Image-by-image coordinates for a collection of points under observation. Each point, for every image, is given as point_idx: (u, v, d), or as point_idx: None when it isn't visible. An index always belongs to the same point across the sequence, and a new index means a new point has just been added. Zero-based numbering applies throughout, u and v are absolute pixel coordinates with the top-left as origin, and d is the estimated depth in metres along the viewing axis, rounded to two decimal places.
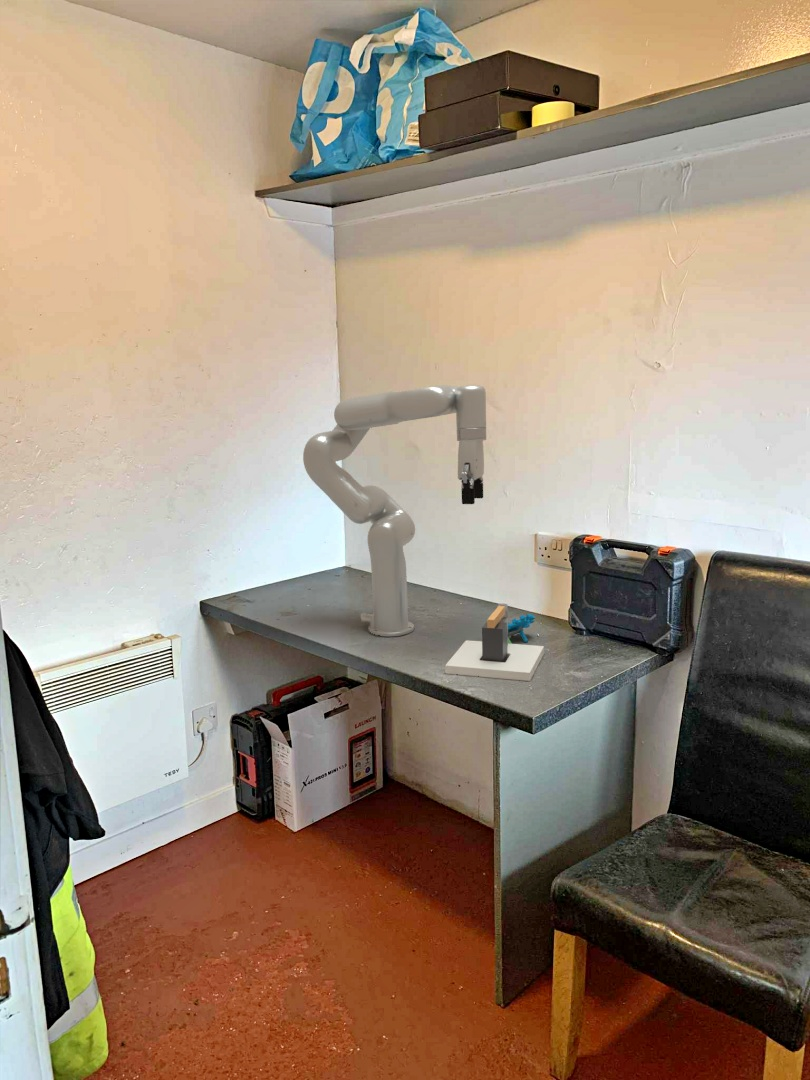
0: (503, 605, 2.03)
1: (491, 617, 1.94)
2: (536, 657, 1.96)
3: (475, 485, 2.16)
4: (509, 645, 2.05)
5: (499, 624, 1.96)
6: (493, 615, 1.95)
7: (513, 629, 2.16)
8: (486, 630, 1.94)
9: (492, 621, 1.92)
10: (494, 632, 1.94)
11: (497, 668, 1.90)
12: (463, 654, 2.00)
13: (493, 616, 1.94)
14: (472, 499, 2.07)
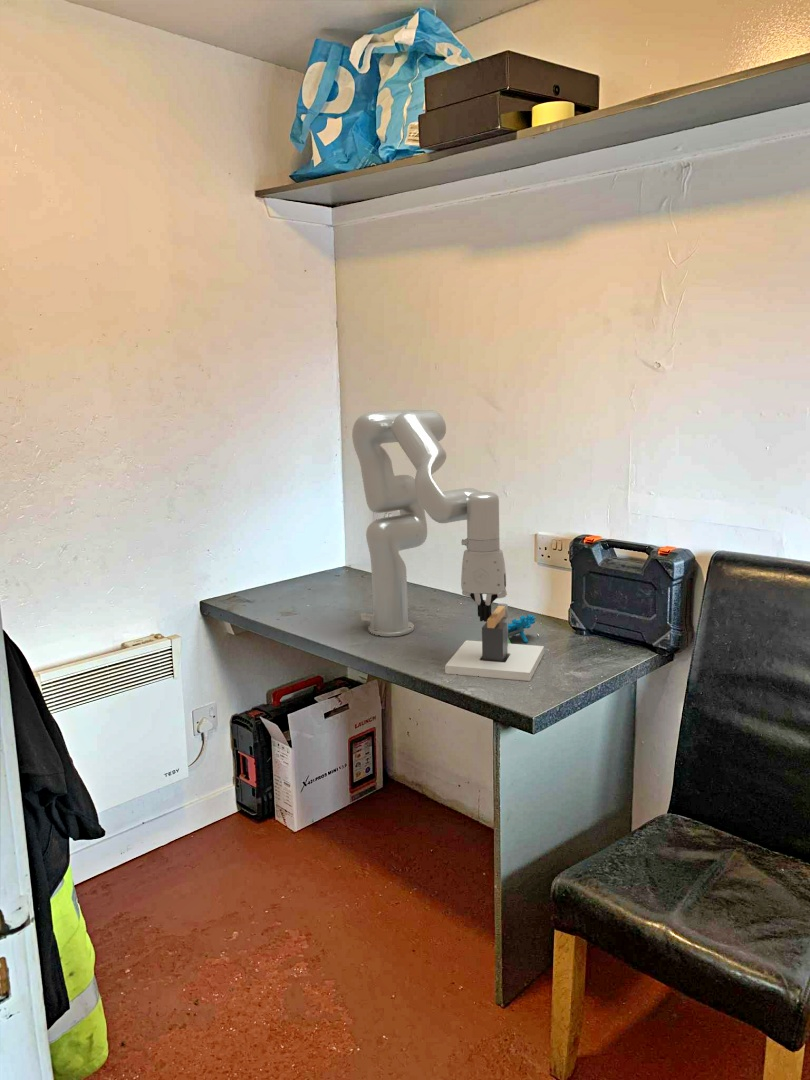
0: (503, 605, 2.03)
1: (491, 617, 1.94)
2: (536, 657, 1.96)
3: None
4: (509, 645, 2.05)
5: (499, 624, 1.96)
6: (493, 615, 1.95)
7: (513, 629, 2.15)
8: (486, 630, 1.94)
9: (492, 621, 1.92)
10: (494, 632, 1.94)
11: (497, 668, 1.90)
12: (463, 654, 2.00)
13: (493, 616, 1.94)
14: None
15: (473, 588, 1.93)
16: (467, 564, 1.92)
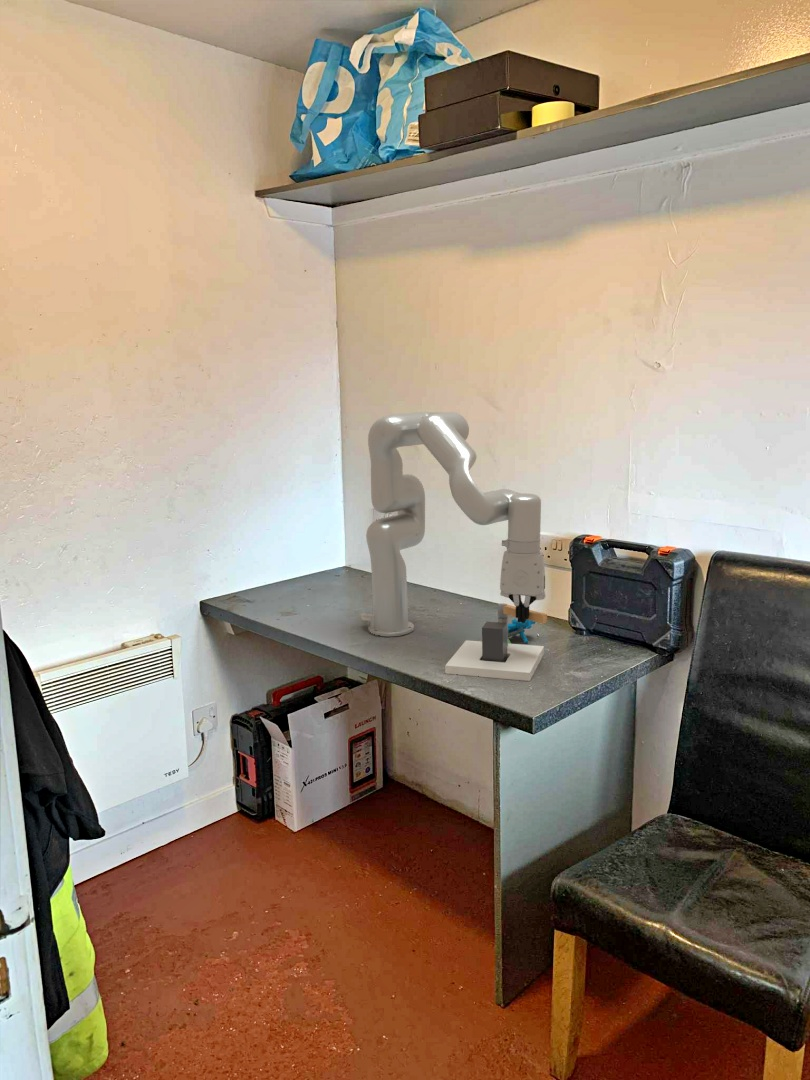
0: (505, 604, 2.04)
1: (537, 613, 1.96)
2: (536, 657, 1.96)
3: None
4: (509, 645, 2.05)
5: (499, 624, 1.96)
6: (532, 612, 1.97)
7: (514, 630, 2.15)
8: (486, 630, 1.94)
9: (546, 615, 1.95)
10: (494, 632, 1.94)
11: (497, 668, 1.90)
12: (463, 654, 2.00)
13: (535, 612, 1.96)
14: None
15: (512, 589, 1.93)
16: (507, 565, 1.92)
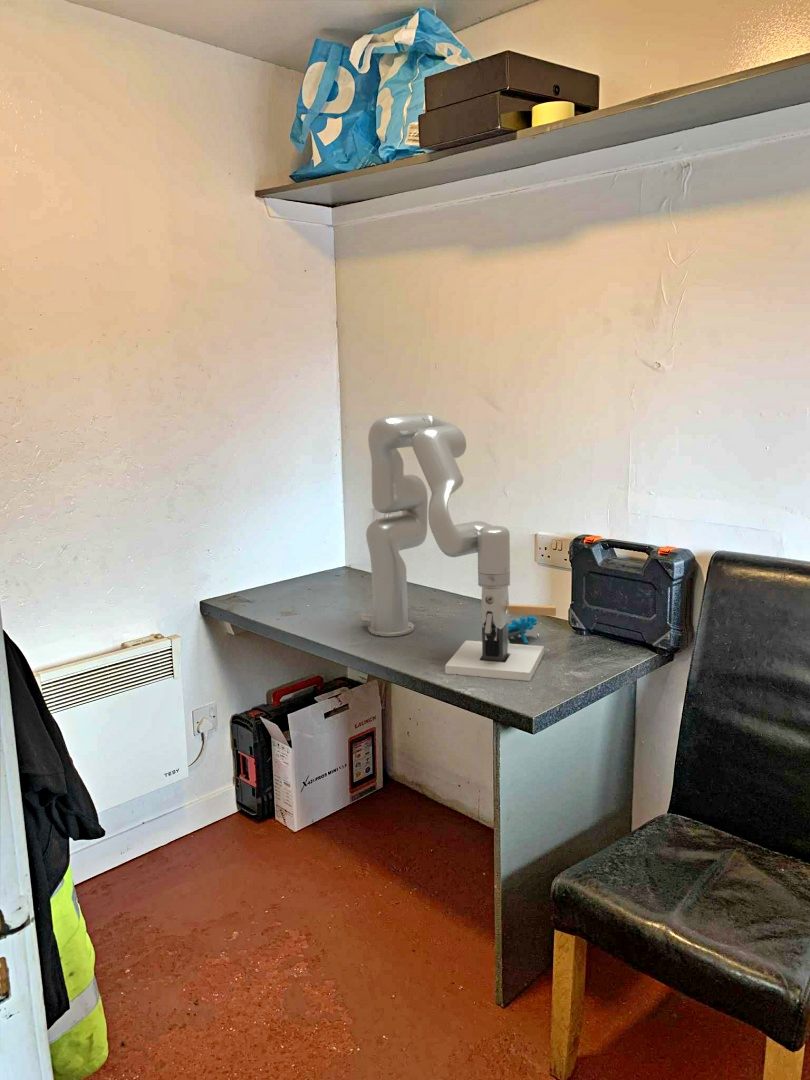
0: None
1: (547, 607, 2.00)
2: (536, 657, 1.96)
3: None
4: (509, 645, 2.05)
5: None
6: (541, 606, 2.01)
7: (514, 630, 2.15)
8: None
9: (555, 608, 2.01)
10: (494, 632, 1.94)
11: (497, 668, 1.90)
12: (463, 654, 2.00)
13: (544, 606, 2.01)
14: None
15: (504, 621, 1.93)
16: (502, 599, 1.91)
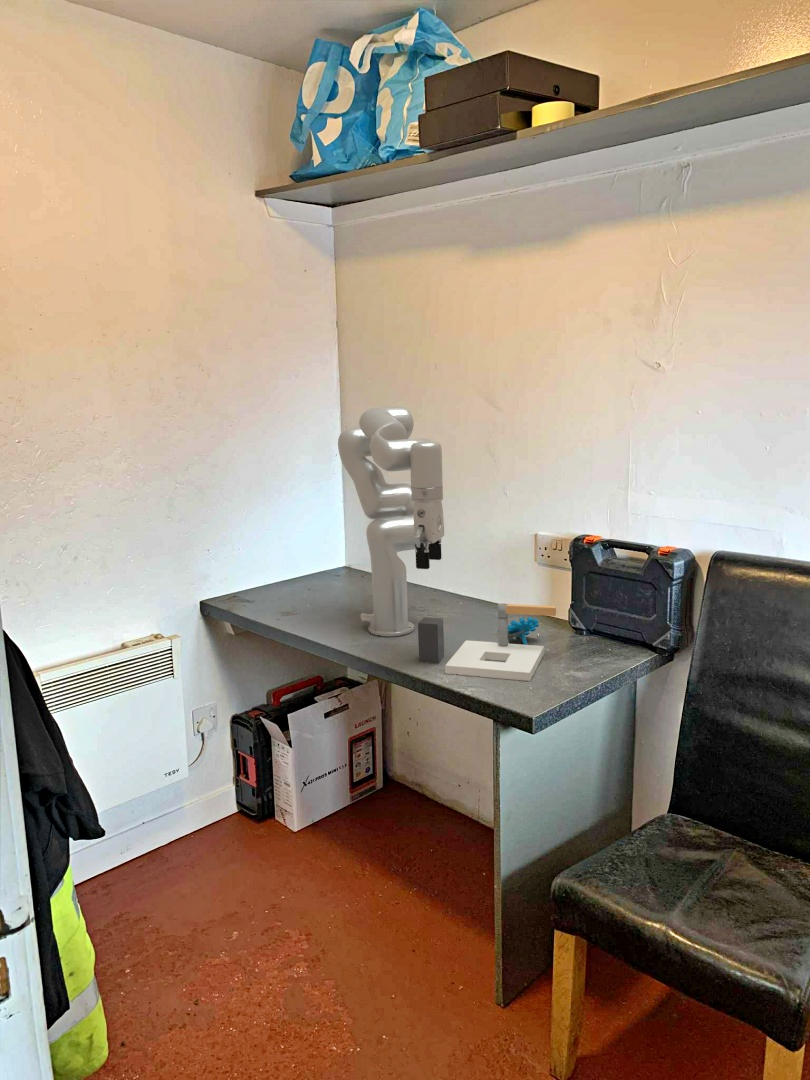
0: (505, 604, 2.04)
1: (547, 607, 2.00)
2: (536, 657, 1.96)
3: None
4: (509, 645, 2.05)
5: (435, 620, 2.02)
6: (541, 606, 2.01)
7: (515, 631, 2.14)
8: (422, 625, 2.00)
9: (555, 608, 2.01)
10: (429, 627, 1.99)
11: (497, 668, 1.90)
12: (463, 654, 2.00)
13: (544, 606, 2.01)
14: None
15: (437, 536, 1.94)
16: (434, 513, 1.92)
